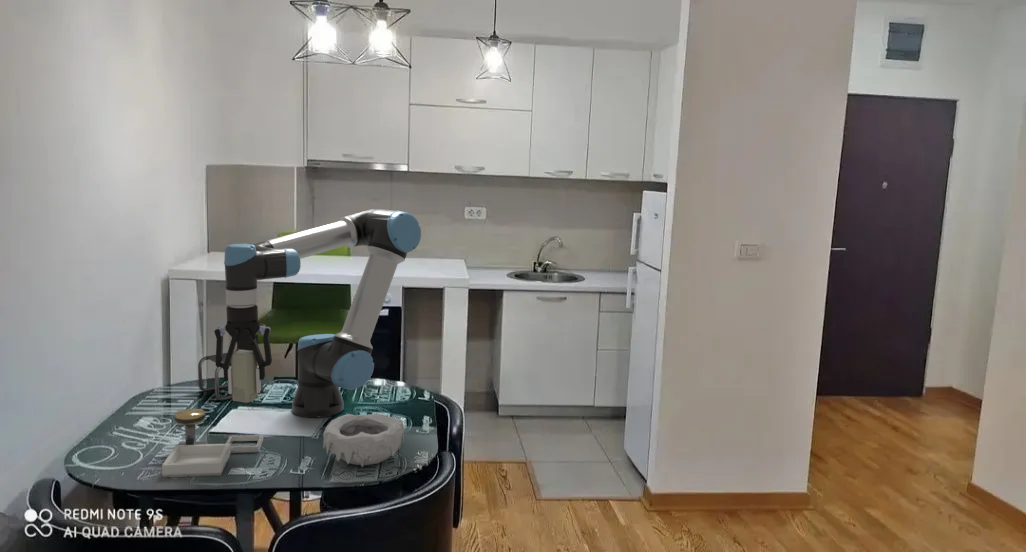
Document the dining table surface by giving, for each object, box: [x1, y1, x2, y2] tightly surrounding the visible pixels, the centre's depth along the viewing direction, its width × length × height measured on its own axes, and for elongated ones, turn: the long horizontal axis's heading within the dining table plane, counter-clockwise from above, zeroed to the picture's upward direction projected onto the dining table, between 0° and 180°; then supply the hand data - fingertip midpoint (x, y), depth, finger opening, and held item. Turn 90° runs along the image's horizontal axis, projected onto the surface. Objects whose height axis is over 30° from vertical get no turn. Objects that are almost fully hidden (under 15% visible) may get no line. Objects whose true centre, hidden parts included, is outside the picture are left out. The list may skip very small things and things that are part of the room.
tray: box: [161, 443, 231, 478], centre depth 187 cm, size 13×13×3 cm
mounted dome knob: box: [173, 408, 209, 445], centre depth 196 cm, size 7×7×10 cm
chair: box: [197, 322, 267, 401], centre depth 244 cm, size 13×17×22 cm
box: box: [230, 350, 259, 403], centre depth 198 cm, size 5×4×13 cm
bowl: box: [322, 413, 405, 468], centre depth 194 cm, size 21×20×10 cm
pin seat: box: [225, 434, 264, 454], centre depth 200 cm, size 8×8×2 cm
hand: (245, 391), depth 198 cm, fingers closed on box, 6 cm apart
